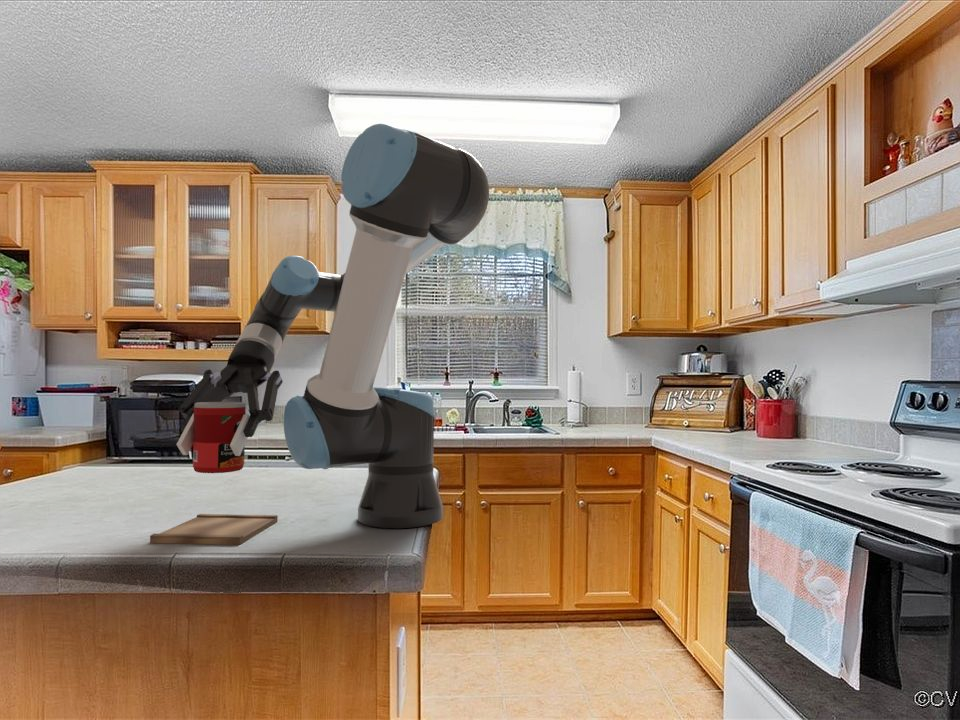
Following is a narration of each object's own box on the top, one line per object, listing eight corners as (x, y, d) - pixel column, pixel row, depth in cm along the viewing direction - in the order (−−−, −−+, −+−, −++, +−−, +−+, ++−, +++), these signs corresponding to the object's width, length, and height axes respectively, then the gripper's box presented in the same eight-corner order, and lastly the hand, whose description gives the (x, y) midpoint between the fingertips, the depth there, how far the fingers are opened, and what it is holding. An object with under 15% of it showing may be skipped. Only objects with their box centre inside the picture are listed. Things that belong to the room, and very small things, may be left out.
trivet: (277, 521, 101) (277, 515, 101) (239, 544, 87) (239, 537, 87) (199, 520, 101) (199, 513, 101) (150, 542, 87) (150, 535, 87)
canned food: (225, 474, 90) (227, 404, 90) (181, 472, 92) (182, 403, 92) (254, 467, 98) (255, 402, 98) (212, 465, 99) (213, 401, 100)
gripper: (314, 368, 110) (278, 465, 93) (208, 367, 111) (154, 463, 94) (304, 338, 105) (265, 436, 88) (193, 337, 106) (134, 434, 89)
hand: (208, 450), depth 91 cm, fingers closed on canned food, 8 cm apart
